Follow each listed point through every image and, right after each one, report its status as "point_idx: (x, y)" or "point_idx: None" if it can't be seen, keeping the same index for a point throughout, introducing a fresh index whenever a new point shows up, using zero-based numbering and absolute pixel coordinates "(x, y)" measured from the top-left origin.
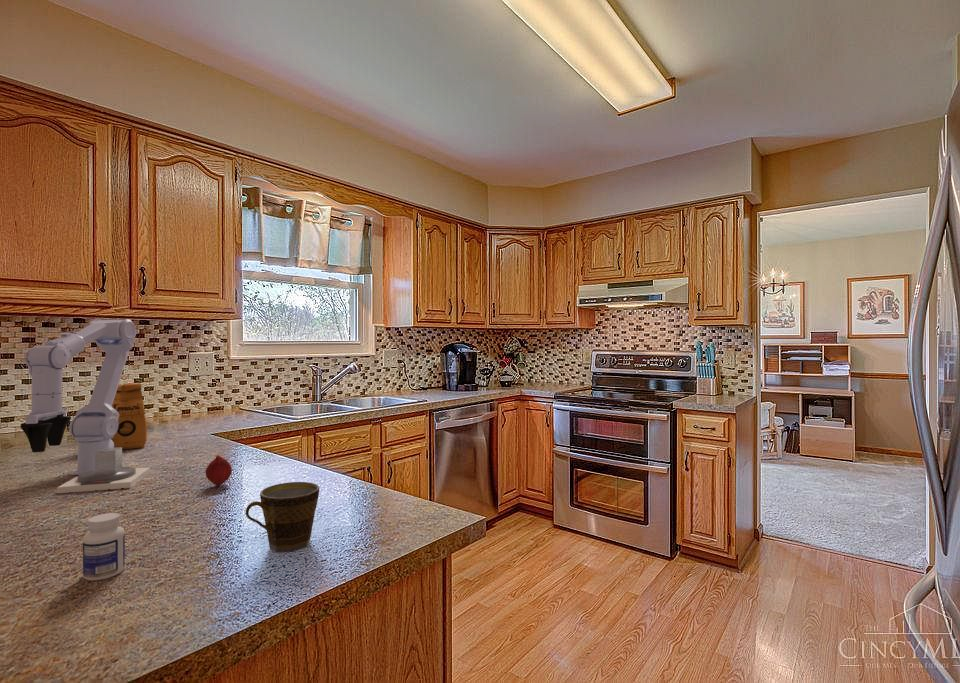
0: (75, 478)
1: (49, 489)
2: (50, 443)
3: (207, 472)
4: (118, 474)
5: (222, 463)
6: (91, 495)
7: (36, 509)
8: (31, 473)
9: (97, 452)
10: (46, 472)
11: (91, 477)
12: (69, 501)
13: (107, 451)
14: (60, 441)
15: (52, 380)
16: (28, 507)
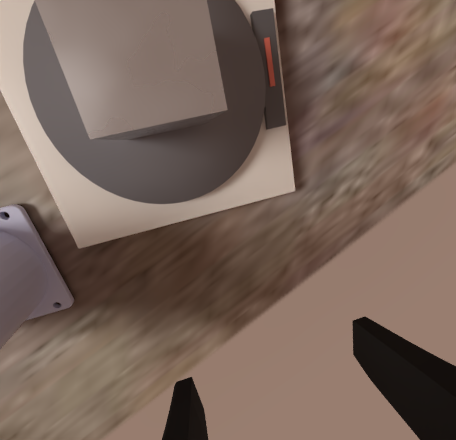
0: (187, 211)
1: (237, 243)
2: (204, 421)
3: None
4: None
5: None
6: (327, 53)
7: (421, 135)
8: (58, 423)
9: (223, 93)
10: (39, 399)
11: (238, 116)
12: (375, 88)
13: (206, 12)
14: (186, 399)
15: None
16: (397, 170)
